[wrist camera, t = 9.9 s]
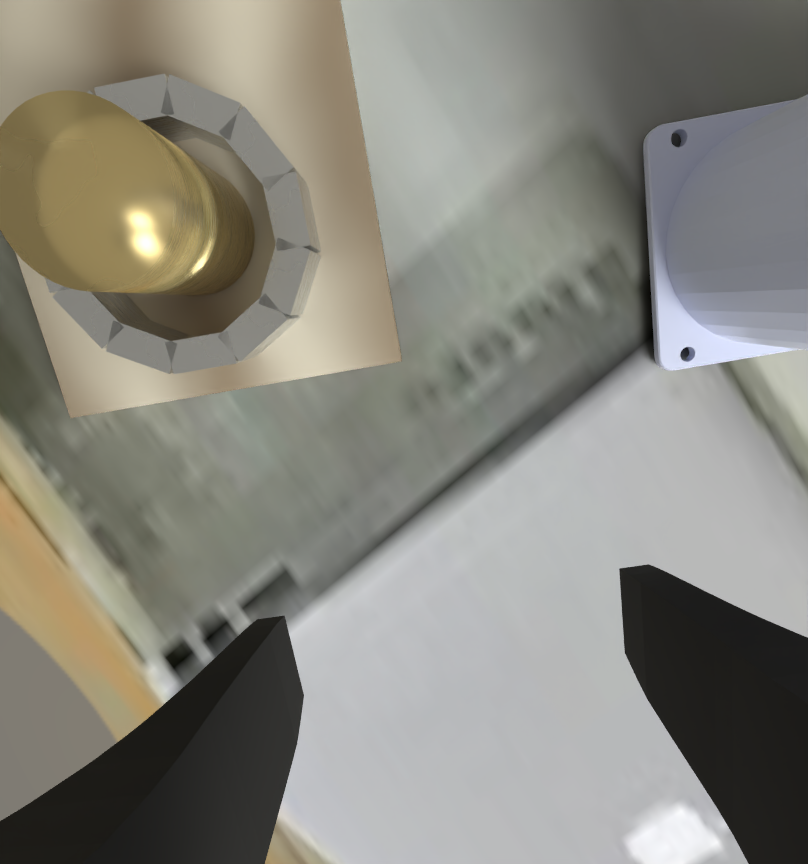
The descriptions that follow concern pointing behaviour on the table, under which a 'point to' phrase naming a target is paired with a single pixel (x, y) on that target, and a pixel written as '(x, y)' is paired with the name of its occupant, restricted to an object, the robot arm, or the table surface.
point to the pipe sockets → (289, 213)
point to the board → (287, 127)
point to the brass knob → (115, 202)
